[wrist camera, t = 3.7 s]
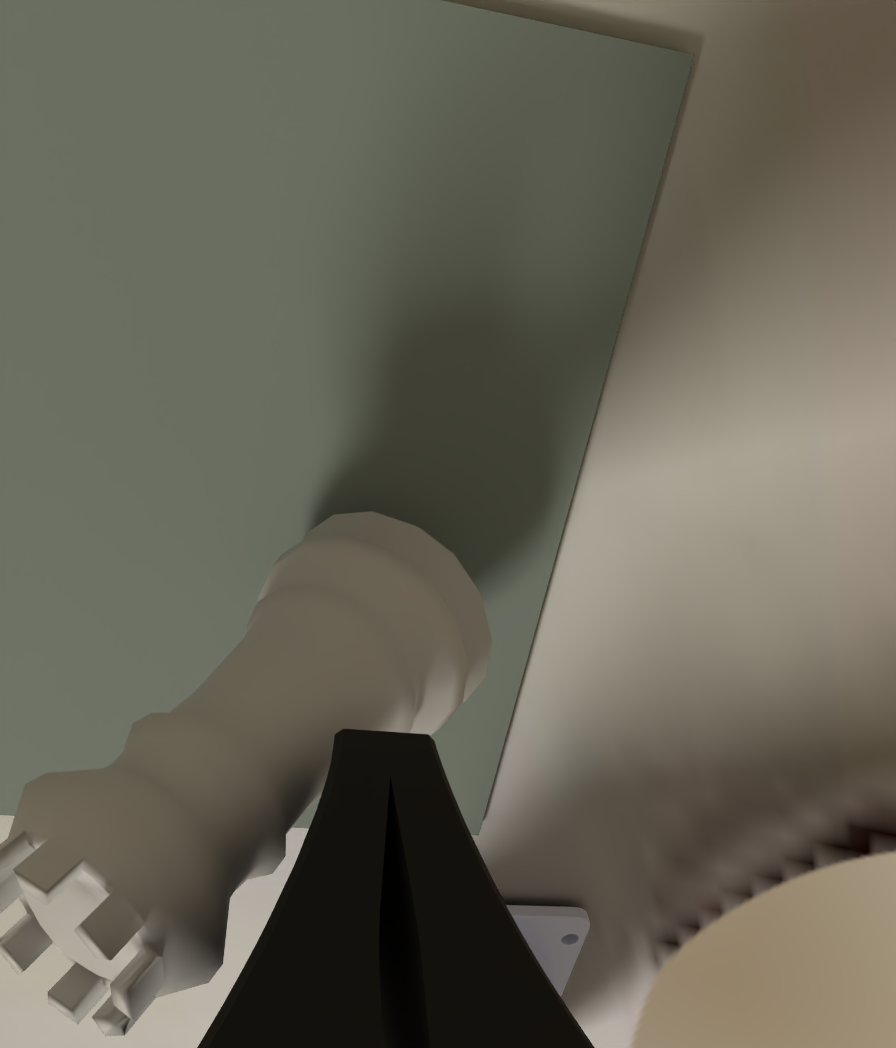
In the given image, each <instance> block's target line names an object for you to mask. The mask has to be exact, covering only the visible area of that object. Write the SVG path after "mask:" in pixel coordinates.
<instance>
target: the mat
mask: <svg viewBox="0 0 896 1048" xmlns="http://www.w3.org/2000/svg"><path fill="white" fill-rule="evenodd" d="M693 58H694V55H693V54H689V53H684V52H679V51H675V50H670V49H665V48H661V47H656V46H652V45H647V44H642V43H638V42H633V41H628V40H624V39H619V38H615V37H610V36H605V35H601V34H596V33H592V32H587V31H582V30H578V29H573V28H568V27H564V26H559V25H555V24H550V23H545V22H541V21H536V20H532V19H527V18H522V17H518V16H513V15H508V14H504V13H499V12H495V11H490V10H485V9H481V8H476V7H472V6H467V5H462V4H458V3H453V2H448V1H444V0H0V815H13V816H15V814H16V811H17V808H18V805H19V802H20V799H21V795H22V792H23V789H24V786H25V784H27V783H28V782H30V781H32V780H34V779H36V778H38V777H40V776H41V775H43V774H45V773H52V772H64V771H76V770H87V769H99V768H106V767H107V766H109V765H110V764H112V763H113V762H114V761H115V760H116V759H117V758H118V757H119V756H120V755H121V754H122V753H123V752H124V747H125V743H126V740H127V737H128V735H129V732H130V729H131V727H132V724H133V723H134V722H136V721H138V720H139V719H141V718H143V717H145V716H147V715H149V714H150V713H152V712H155V713H169V712H171V711H172V710H173V709H174V708H175V707H177V706H178V705H179V704H180V703H182V702H183V701H184V700H185V699H187V698H188V697H189V696H190V695H191V694H193V693H194V692H195V691H196V690H197V689H198V688H199V687H200V686H201V685H202V683H203V682H204V681H205V680H206V679H207V678H208V677H209V676H210V675H211V674H212V673H213V671H214V670H215V669H216V668H217V667H218V666H219V665H220V664H221V663H222V662H223V661H224V659H225V658H226V657H227V656H228V655H229V654H230V653H231V652H232V651H233V650H234V648H235V647H236V646H237V645H238V644H239V643H240V642H241V641H242V640H243V638H244V637H245V635H246V634H247V624H248V622H249V620H250V618H251V615H252V613H253V611H254V609H255V607H256V605H257V603H258V596H259V594H260V592H261V590H262V588H263V586H264V583H265V581H266V579H267V577H268V575H269V573H270V571H271V569H272V567H273V566H274V564H275V563H276V561H277V560H278V558H279V557H280V555H282V554H283V553H285V552H286V551H288V550H289V549H291V548H292V547H294V546H295V545H297V544H298V543H300V542H301V541H302V540H303V538H304V536H305V534H306V533H307V532H309V531H310V530H312V529H313V528H315V527H316V526H318V525H319V524H321V523H322V522H324V521H325V520H327V519H328V518H330V517H331V516H333V515H334V514H346V513H358V512H370V511H373V512H376V513H379V514H382V515H385V516H388V517H391V518H394V519H397V520H400V521H403V522H406V523H409V524H412V525H415V526H417V527H419V528H421V529H423V530H424V531H425V532H427V533H428V534H429V535H430V536H432V537H433V538H434V539H436V540H437V541H438V542H439V543H441V544H442V545H443V546H445V547H446V548H447V549H448V550H450V551H451V552H452V553H454V554H455V556H456V557H457V559H458V560H459V562H460V563H461V565H462V566H463V568H464V569H465V571H466V572H467V574H468V575H469V577H470V578H471V579H472V581H473V582H474V584H475V585H476V587H477V589H478V591H479V593H480V595H481V598H482V602H483V606H484V609H485V613H486V617H487V621H488V625H489V629H490V633H491V637H492V643H491V649H490V654H489V660H488V666H487V672H486V677H485V678H484V679H483V680H482V682H481V683H480V684H479V685H478V687H477V688H476V689H475V690H474V691H473V693H472V694H471V695H470V696H469V698H468V699H467V700H466V701H465V702H464V703H462V704H461V705H460V706H459V708H458V709H457V710H456V711H455V712H454V714H453V715H452V716H451V717H450V719H449V720H448V721H447V722H446V723H445V725H444V726H443V727H442V728H441V729H439V730H438V731H436V732H435V733H433V734H432V735H430V737H431V738H432V739H433V740H434V741H435V744H436V748H437V751H438V754H439V757H440V760H441V763H442V765H443V768H444V771H445V774H446V776H447V779H448V782H449V784H450V787H451V789H452V792H453V794H454V797H455V799H456V801H457V804H458V806H459V809H460V811H461V813H462V816H463V818H464V820H465V823H466V825H467V827H468V829H469V831H470V834H471V835H479V832H480V829H481V825H482V821H483V818H484V814H485V810H486V807H487V803H488V800H489V796H490V792H491V789H492V785H493V782H494V778H495V774H496V771H497V767H498V763H499V760H500V756H501V753H502V749H503V745H504V742H505V738H506V734H507V731H508V727H509V724H510V720H511V716H512V713H513V709H514V706H515V702H516V698H517V695H518V691H519V687H520V684H521V680H522V677H523V673H524V669H525V666H526V662H527V659H528V655H529V651H530V648H531V644H532V640H533V637H534V633H535V630H536V626H537V622H538V619H539V615H540V611H541V608H542V604H543V601H544V597H545V593H546V590H547V586H548V583H549V579H550V575H551V572H552V568H553V564H554V561H555V557H556V554H557V550H558V546H559V543H560V539H561V536H562V532H563V528H564V525H565V521H566V517H567V514H568V510H569V507H570V503H571V499H572V496H573V492H574V488H575V485H576V481H577V478H578V474H579V470H580V467H581V463H582V460H583V456H584V452H585V449H586V445H587V441H588V438H589V434H590V431H591V427H592V423H593V420H594V416H595V413H596V409H597V405H598V402H599V398H600V394H601V391H602V387H603V384H604V380H605V376H606V373H607V369H608V365H609V362H610V358H611V355H612V351H613V347H614V344H615V340H616V337H617V333H618V329H619V326H620V322H621V318H622V315H623V311H624V308H625V304H626V300H627V297H628V293H629V290H630V286H631V282H632V279H633V275H634V271H635V268H636V264H637V261H638V257H639V253H640V250H641V246H642V243H643V239H644V235H645V232H646V228H647V224H648V221H649V217H650V214H651V210H652V206H653V203H654V199H655V195H656V192H657V188H658V185H659V181H660V177H661V174H662V170H663V167H664V163H665V159H666V156H667V152H668V148H669V145H670V141H671V138H672V134H673V130H674V127H675V123H676V120H677V116H678V112H679V109H680V105H681V101H682V98H683V94H684V91H685V87H686V83H687V80H688V76H689V72H690V69H691V65H692V62H693ZM320 798H321V797H320ZM320 798H319V799H318V800H317V801H316V802H315V803H314V804H312V805H311V806H310V807H309V808H308V809H307V810H306V811H305V812H304V813H303V814H302V816H301V817H300V818H299V819H298V820H297V822H296V823H295V824H294V825H293V826H292V827H294V828H310V825H311V823H312V820H313V817H314V815H315V812H316V810H317V807H318V804H319V801H320Z"/></svg>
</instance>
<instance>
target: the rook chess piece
mask: <svg viewBox="0 0 896 1048" xmlns="http://www.w3.org/2000/svg"><path fill="white" fill-rule="evenodd" d="M491 643H492V637H491V633H490V629H489V625H488V621H487V617H486V613H485V609H484V606H483V602H482V598H481V595H480V593H479V591H478V589H477V587H476V585H475V584H474V582H473V581H472V579H471V578H470V577H469V575H468V574H467V572H466V571H465V569H464V568H463V566H462V565H461V563H460V562H459V560H458V559H457V557H456V556H455V554H454V553H452V552H451V551H450V550H448V549H447V548H446V547H445V546H443V545H442V544H441V543H439V542H438V541H437V540H436V539H434V538H433V537H432V536H430V535H429V534H428V533H427V532H425V531H424V530H423V529H421V528H419V527H417V526H415V525H412V524H409V523H406V522H403V521H400V520H397V519H394V518H391V517H388V516H385V515H382V514H379V513H376V512H373V511H370V512H358V513H346V514H334V515H333V516H331V517H330V518H328V519H327V520H325V521H324V522H322V523H321V524H319V525H318V526H316V527H315V528H313V529H312V530H310V531H309V532H307V533H306V534H305V536H304V538H303V540H302V541H301V542H300V543H298V544H297V545H295V546H294V547H292V548H291V549H289V550H288V551H286V552H285V553H283V554H282V555H280V557H279V558H278V560H277V561H276V563H275V564H274V566H273V567H272V569H271V571H270V573H269V575H268V577H267V579H266V581H265V583H264V586H263V588H262V590H261V592H260V594H259V596H258V603H257V605H256V607H255V609H254V611H253V613H252V615H251V618H250V620H249V622H248V624H247V634H246V635H245V637H244V638H243V640H242V641H241V642H240V643H239V644H238V645H237V646H236V647H235V648H234V650H233V651H232V652H231V653H230V654H229V655H228V656H227V657H226V658H225V659H224V661H223V662H222V663H221V664H220V665H219V666H218V667H217V668H216V669H215V670H214V671H213V673H212V674H211V675H210V676H209V677H208V678H207V679H206V680H205V681H204V682H203V683H202V685H201V686H200V687H199V688H198V689H197V690H196V691H195V692H194V693H193V694H191V695H190V696H189V697H188V698H187V699H185V700H184V701H183V702H182V703H180V704H179V705H178V706H177V707H175V708H174V709H173V710H172V711H171V712H169V713H155V712H152V713H150V714H149V715H147V716H145V717H143V718H141V719H139V720H138V721H136V722H134V723H133V724H132V727H131V729H130V732H129V735H128V737H127V740H126V743H125V747H124V752H123V753H122V754H121V755H120V756H119V757H118V758H117V759H116V760H115V761H114V762H113V763H112V764H110V765H109V766H107V767H106V768H99V769H87V770H76V771H64V772H52V773H45V774H43V775H41V776H40V777H38V778H36V779H34V780H32V781H30V782H28V783H27V784H25V786H24V789H23V792H22V795H21V799H20V802H19V805H18V808H17V811H16V814H15V818H14V821H13V824H12V827H11V830H10V833H9V836H8V838H7V839H6V840H5V841H4V842H2V843H1V844H0V913H1V912H3V911H4V910H5V909H6V908H7V907H8V906H9V905H10V904H12V903H13V902H14V901H15V900H16V899H17V898H18V897H19V899H20V901H21V903H22V905H23V906H24V908H25V910H26V912H27V914H26V915H25V916H24V917H22V918H21V919H20V920H19V921H18V922H17V923H16V924H15V925H14V926H13V927H12V928H10V929H9V930H8V931H7V932H6V933H5V934H4V935H3V936H2V937H1V938H0V953H1V954H2V955H3V957H4V958H5V959H6V960H7V962H8V963H9V964H10V965H11V967H12V968H13V969H14V970H15V972H16V973H17V974H18V975H20V974H21V973H22V972H23V971H25V970H26V969H27V968H28V967H29V966H30V965H31V964H32V963H33V962H34V961H35V960H36V959H37V958H38V957H39V956H40V955H41V954H42V953H43V952H44V951H45V950H46V949H47V948H48V947H49V946H50V945H51V944H53V945H54V946H55V947H56V948H57V949H58V950H59V951H60V952H61V953H62V954H63V955H64V956H65V957H66V958H67V959H68V960H70V961H71V962H72V963H73V964H74V965H73V966H72V967H71V969H70V970H69V971H68V972H67V973H66V974H65V975H64V976H63V977H62V978H61V979H60V980H59V981H58V982H57V983H56V984H55V985H54V986H53V987H52V988H51V989H50V990H49V991H48V1004H50V1005H51V1006H52V1007H54V1008H55V1009H57V1010H58V1011H59V1012H61V1013H62V1014H64V1015H65V1016H67V1017H68V1018H69V1019H71V1020H72V1021H74V1022H75V1023H76V1024H79V1023H80V1022H81V1020H82V1019H83V1018H84V1017H85V1016H86V1015H87V1014H88V1013H89V1011H90V1010H91V1009H92V1008H93V1007H94V1006H95V1005H96V1004H97V1002H98V1001H99V1000H100V999H101V998H102V997H103V996H104V995H105V993H106V992H107V991H108V990H111V994H112V995H111V996H110V997H109V998H108V999H107V1001H106V1002H105V1003H104V1004H103V1005H102V1006H101V1007H100V1009H99V1010H98V1011H97V1012H96V1013H95V1014H94V1015H93V1016H92V1018H93V1019H94V1021H95V1022H96V1024H97V1025H98V1027H99V1028H100V1030H101V1031H102V1033H103V1034H104V1036H118V1035H125V1034H126V1033H127V1032H128V1031H129V1029H130V1028H131V1027H132V1026H133V1025H134V1023H135V1022H136V1021H137V1020H138V1019H139V1017H140V1016H141V1015H142V1014H143V1012H144V1011H145V1010H146V1009H147V1008H148V1006H149V1005H150V1004H151V1003H152V1002H153V1000H154V999H155V998H157V997H160V996H164V995H167V994H171V993H174V992H178V991H181V990H185V989H188V988H192V987H195V986H199V985H202V984H206V983H209V981H210V980H211V979H212V977H213V976H214V975H215V973H216V972H217V971H218V969H219V968H220V967H221V965H222V964H223V957H224V948H225V938H226V929H227V920H228V910H229V901H230V897H231V896H232V894H233V892H234V891H235V890H236V889H237V888H238V887H239V886H241V885H242V884H243V883H244V882H245V881H246V880H247V879H252V878H256V877H260V876H264V875H268V874H273V872H274V871H275V870H276V868H277V867H278V865H279V864H280V863H281V861H282V860H283V859H284V857H285V851H286V834H287V832H288V831H289V830H290V829H291V828H292V826H293V825H294V824H295V823H296V822H297V820H298V819H299V818H300V817H301V816H302V814H303V813H304V812H305V811H306V810H307V809H308V808H309V807H310V806H311V805H312V804H314V803H315V802H316V801H317V800H318V799H319V798H320V797H321V795H322V791H323V788H324V785H325V782H326V779H327V775H328V771H329V767H330V763H331V758H332V751H333V743H334V736H335V734H336V733H337V732H339V731H341V730H342V729H357V730H372V731H387V732H402V733H417V734H429V735H432V734H433V733H435V732H436V731H438V730H439V729H441V728H442V727H443V726H444V725H445V723H446V722H447V721H448V720H449V719H450V717H451V716H452V715H453V714H454V712H455V711H456V710H457V709H458V708H459V706H460V705H461V704H462V703H464V702H465V701H466V700H467V699H468V698H469V696H470V695H471V694H472V693H473V691H474V690H475V689H476V688H477V687H478V685H479V684H480V683H481V682H482V680H483V679H484V678H485V677H486V672H487V666H488V660H489V654H490V649H491Z"/></svg>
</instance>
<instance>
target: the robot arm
mask: <svg viewBox="0 0 896 1048" xmlns="http://www.w3.org/2000/svg"><path fill="white" fill-rule="evenodd" d="M589 929H590V921H589V917H588V914H587V912H586V911H585V910H584V909H582V908H579V907H563V906H528V905H506V904H505V902H504V900H503V898H502V897H501V895H500V893H499V891H498V889H497V887H496V885H495V883H494V881H493V879H492V877H491V875H490V873H489V871H488V869H487V867H486V865H485V863H484V861H483V859H482V857H481V855H480V852H479V850H478V848H477V846H476V844H475V842H474V840H473V838H472V836H471V834H470V831H469V829H468V827H467V825H466V823H465V820H464V818H463V816H462V813H461V811H460V809H459V806H458V804H457V801H456V799H455V797H454V794H453V792H452V789H451V787H450V784H449V782H448V779H447V776H446V774H445V771H444V768H443V765H442V763H441V760H440V757H439V754H438V751H437V748H436V744H435V741H434V740H433V739H432V738H431V737H430V735H429V734H417V733H402V732H387V731H372V730H357V729H342V730H341V731H339V732H337V733H336V734H335V736H334V743H333V751H332V758H331V763H330V767H329V771H328V775H327V779H326V782H325V785H324V788H323V791H322V795H321V798H320V801H319V804H318V807H317V810H316V812H315V815H314V817H313V820H312V823H311V825H310V828H309V830H308V833H307V835H306V838H305V840H304V843H303V845H302V848H301V850H300V853H299V855H298V858H297V860H296V862H295V865H294V867H293V869H292V871H291V873H290V876H289V878H288V880H287V882H286V884H285V886H284V888H283V890H282V893H281V895H280V897H279V899H278V901H277V903H276V905H275V907H274V910H273V912H272V914H271V916H270V918H269V920H268V922H267V924H266V926H265V928H264V930H263V932H262V934H261V936H260V938H259V940H258V942H257V944H256V946H255V947H254V949H253V951H252V953H251V955H250V957H249V959H248V961H247V963H246V964H245V966H244V968H243V970H242V972H241V973H240V975H239V977H238V979H237V981H236V982H235V984H234V986H233V988H232V990H231V991H230V993H229V995H228V997H227V999H226V1000H225V1002H224V1004H223V1006H222V1007H221V1009H220V1011H219V1012H218V1014H217V1016H216V1017H215V1019H214V1021H213V1022H212V1024H211V1026H210V1027H209V1029H208V1031H207V1033H206V1034H205V1036H204V1038H203V1039H202V1041H201V1043H200V1044H199V1046H198V1048H594V1046H593V1045H592V1043H591V1042H590V1040H589V1039H588V1037H587V1036H586V1035H585V1033H584V1032H583V1030H582V1029H581V1027H580V1026H579V1024H578V1023H577V1021H576V1020H575V1018H574V1017H573V1015H572V1014H571V1013H570V1011H569V1010H568V1008H567V1006H566V1005H565V1003H564V1002H563V1000H562V999H561V996H562V994H563V991H564V989H565V987H566V984H567V982H568V979H569V977H570V975H571V972H572V970H573V967H574V965H575V963H576V960H577V958H578V955H579V953H580V950H581V948H582V946H583V943H584V941H585V938H586V936H587V934H588V931H589Z"/></svg>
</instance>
